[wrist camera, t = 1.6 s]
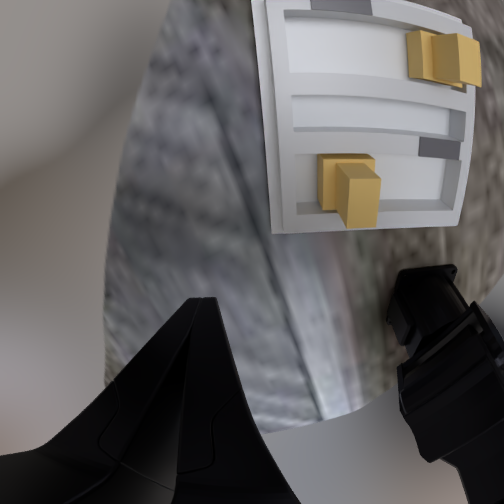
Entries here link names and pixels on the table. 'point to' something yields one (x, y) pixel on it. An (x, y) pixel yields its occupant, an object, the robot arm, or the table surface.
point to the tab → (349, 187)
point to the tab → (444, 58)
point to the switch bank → (359, 110)
